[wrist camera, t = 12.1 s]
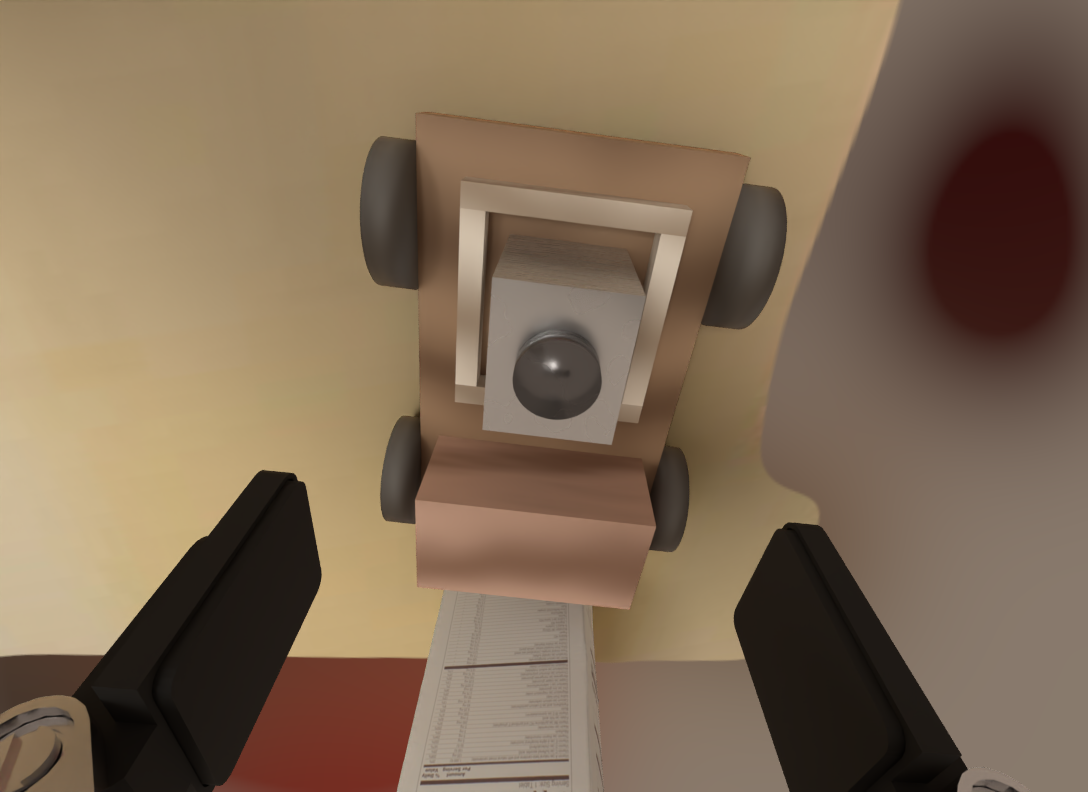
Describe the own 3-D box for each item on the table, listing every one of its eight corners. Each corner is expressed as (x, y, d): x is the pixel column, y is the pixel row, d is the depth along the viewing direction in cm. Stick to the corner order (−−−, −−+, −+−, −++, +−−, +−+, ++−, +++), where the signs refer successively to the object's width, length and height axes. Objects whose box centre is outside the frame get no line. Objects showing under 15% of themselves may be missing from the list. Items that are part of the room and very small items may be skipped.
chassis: (402, 106, 22) (320, 109, 15) (758, 154, 22) (852, 180, 15) (412, 485, 33) (369, 594, 26) (648, 512, 34) (672, 626, 26)
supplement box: (478, 619, 40) (430, 910, 26) (451, 539, 36) (374, 838, 21) (596, 612, 39) (614, 910, 25) (584, 529, 35) (597, 836, 20)
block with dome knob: (510, 233, 21) (488, 287, 15) (626, 248, 21) (650, 307, 15) (500, 359, 24) (478, 445, 18) (601, 371, 24) (613, 461, 18)
